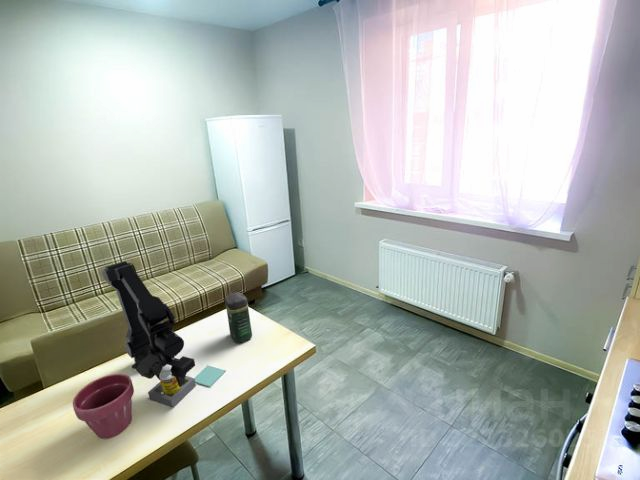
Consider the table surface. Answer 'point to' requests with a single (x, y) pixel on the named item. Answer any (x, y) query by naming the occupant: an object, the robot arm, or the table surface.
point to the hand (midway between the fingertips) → (171, 382)
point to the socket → (166, 400)
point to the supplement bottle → (168, 381)
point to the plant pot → (106, 405)
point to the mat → (209, 376)
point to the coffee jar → (238, 317)
